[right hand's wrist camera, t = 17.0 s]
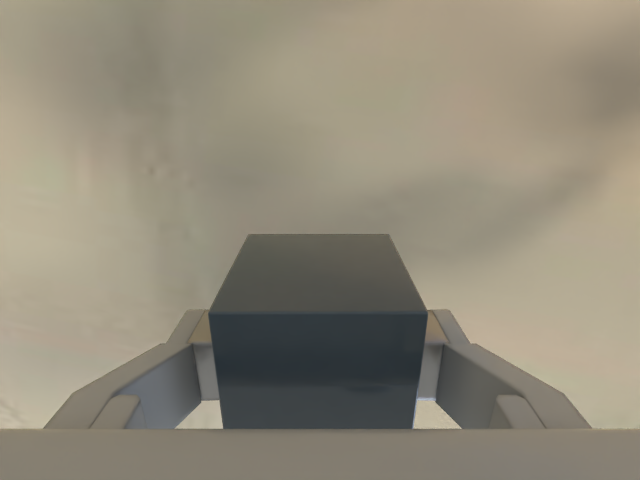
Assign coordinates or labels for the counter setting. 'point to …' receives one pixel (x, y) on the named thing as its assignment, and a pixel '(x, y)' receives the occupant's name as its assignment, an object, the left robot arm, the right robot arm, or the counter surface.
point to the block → (318, 334)
